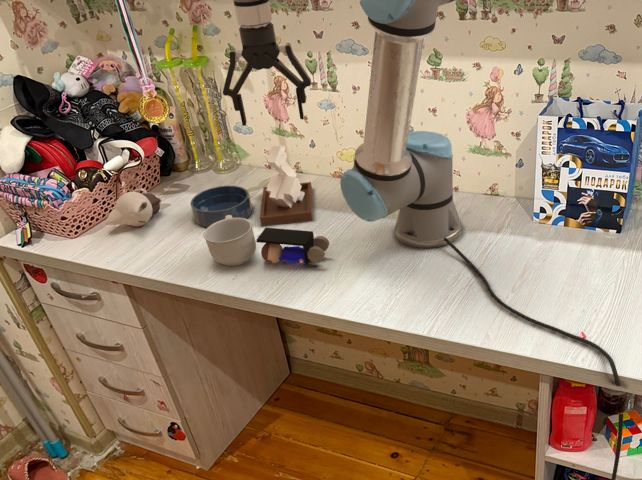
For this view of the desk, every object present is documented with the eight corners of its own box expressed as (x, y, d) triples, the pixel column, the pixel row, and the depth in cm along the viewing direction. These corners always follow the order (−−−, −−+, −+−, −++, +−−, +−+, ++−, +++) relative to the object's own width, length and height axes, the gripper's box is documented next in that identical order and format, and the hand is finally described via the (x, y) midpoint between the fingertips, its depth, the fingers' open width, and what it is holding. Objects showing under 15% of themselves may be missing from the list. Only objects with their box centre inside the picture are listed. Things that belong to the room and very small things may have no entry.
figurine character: (330, 260, 159) (267, 252, 160) (330, 231, 154) (264, 223, 156) (323, 276, 154) (258, 267, 155) (322, 247, 149) (255, 238, 151)
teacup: (254, 270, 155) (247, 238, 150) (206, 273, 156) (197, 241, 151) (263, 239, 166) (257, 208, 161) (219, 242, 167) (211, 211, 162)
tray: (312, 220, 172) (311, 212, 170) (261, 226, 171) (259, 217, 170) (312, 189, 186) (311, 181, 184) (265, 195, 185) (263, 187, 184)
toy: (144, 224, 187) (106, 239, 174) (128, 192, 184) (89, 206, 172) (180, 210, 181) (143, 225, 168) (165, 177, 178) (127, 190, 166)
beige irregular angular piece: (315, 171, 180) (289, 140, 166) (300, 213, 178) (272, 184, 164) (292, 168, 183) (264, 136, 169) (277, 209, 181) (247, 180, 167)
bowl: (250, 224, 173) (246, 208, 170) (191, 231, 172) (186, 214, 169) (253, 198, 184) (250, 182, 181) (198, 204, 184) (194, 189, 181)
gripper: (312, 13, 155) (325, 109, 168) (200, 26, 154) (222, 120, 167) (312, 21, 149) (326, 119, 162) (196, 34, 148) (219, 132, 161)
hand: (273, 120), depth 165 cm, fingers open, 13 cm apart
